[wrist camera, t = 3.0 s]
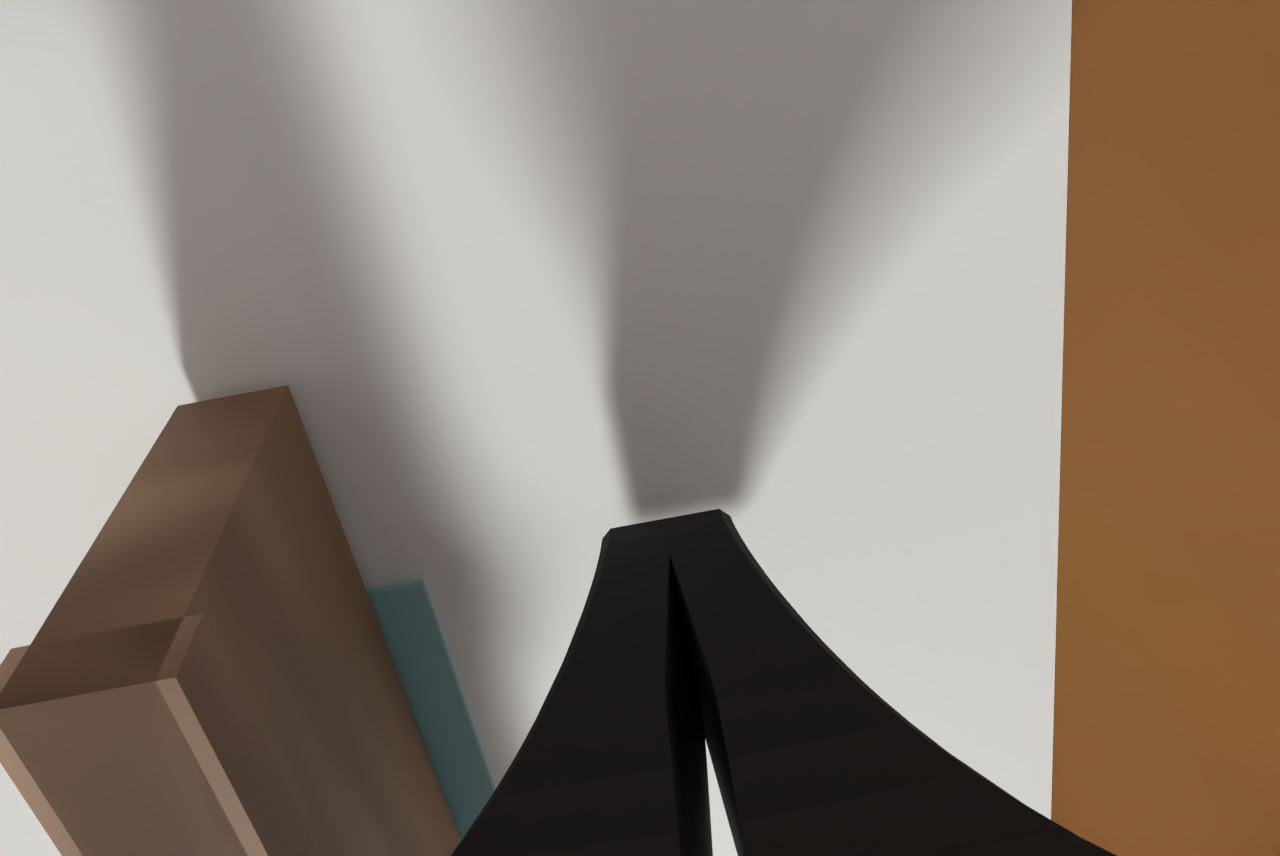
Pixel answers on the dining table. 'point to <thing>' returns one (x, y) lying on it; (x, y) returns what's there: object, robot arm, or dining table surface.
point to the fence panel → (220, 667)
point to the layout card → (565, 320)
